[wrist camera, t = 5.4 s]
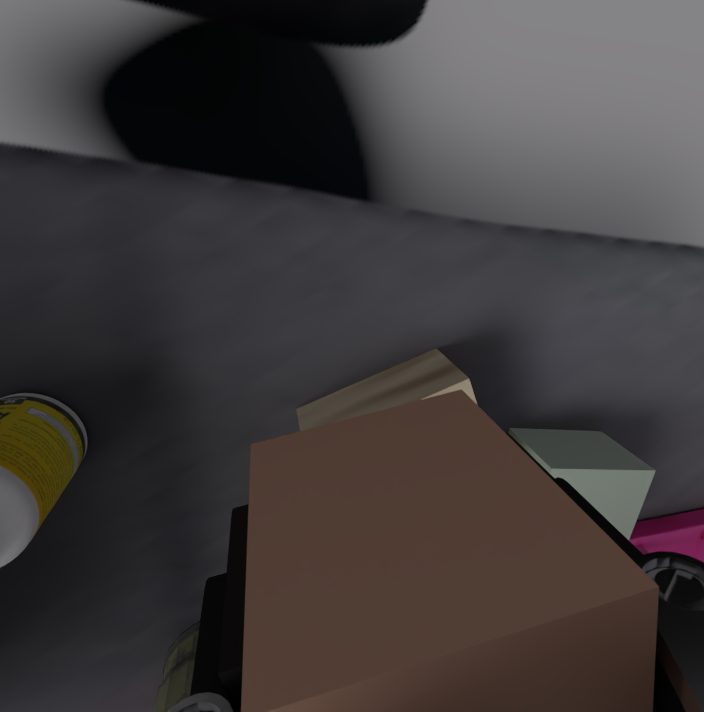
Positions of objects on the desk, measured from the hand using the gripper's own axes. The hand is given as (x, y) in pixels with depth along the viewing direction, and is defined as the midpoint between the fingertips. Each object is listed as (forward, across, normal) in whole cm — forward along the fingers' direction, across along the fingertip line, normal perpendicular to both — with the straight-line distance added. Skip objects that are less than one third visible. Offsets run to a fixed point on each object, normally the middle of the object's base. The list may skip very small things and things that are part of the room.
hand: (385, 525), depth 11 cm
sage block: (+17, -13, +14) cm, 26 cm away
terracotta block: (+1, 0, 0) cm, 1 cm away
